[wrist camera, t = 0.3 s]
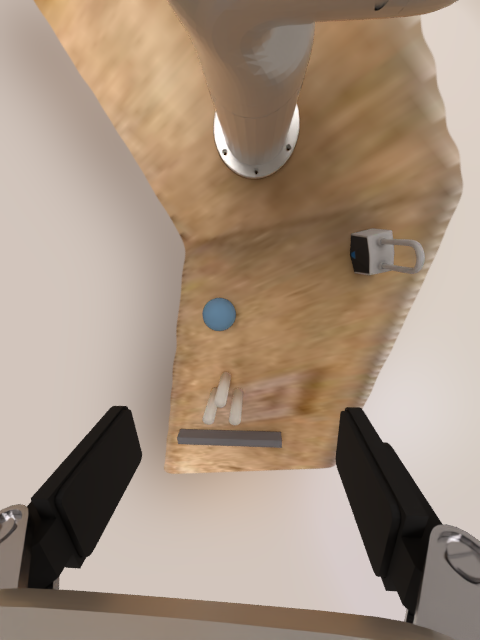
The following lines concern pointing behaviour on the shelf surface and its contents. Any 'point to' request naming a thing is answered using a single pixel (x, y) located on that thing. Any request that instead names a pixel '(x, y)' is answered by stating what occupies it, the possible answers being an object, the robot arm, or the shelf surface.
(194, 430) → the grey long square bar
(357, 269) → the padlock
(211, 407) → the pin
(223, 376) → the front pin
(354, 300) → the shelf surface
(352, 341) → the shelf surface
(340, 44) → the shelf surface
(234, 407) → the pin
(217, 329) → the ball
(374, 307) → the shelf surface
